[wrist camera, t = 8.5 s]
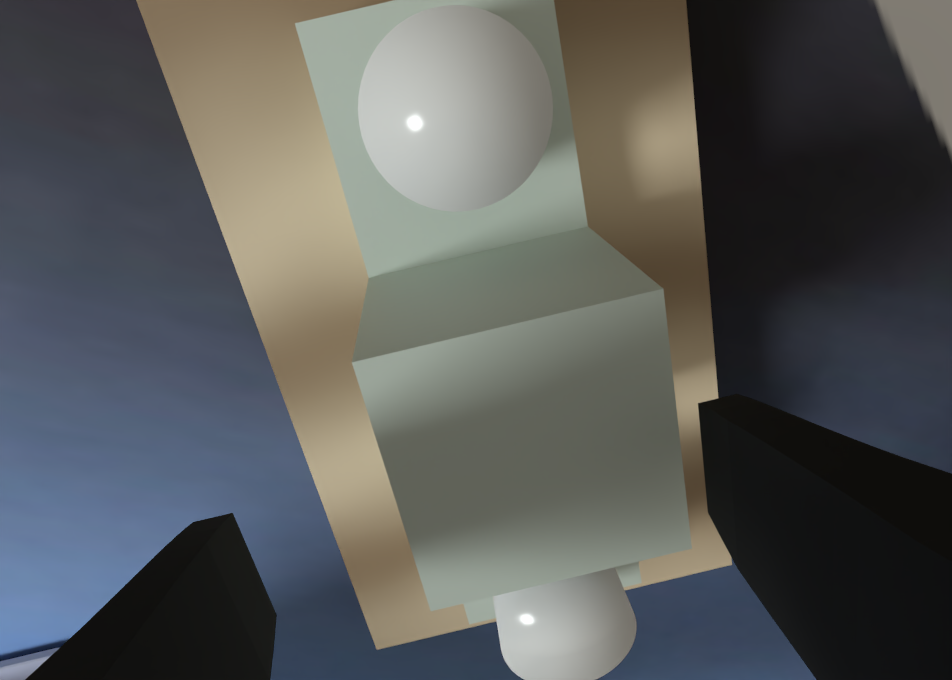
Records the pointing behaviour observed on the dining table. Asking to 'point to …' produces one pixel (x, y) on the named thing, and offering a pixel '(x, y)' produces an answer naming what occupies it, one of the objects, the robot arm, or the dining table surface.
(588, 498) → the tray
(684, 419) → the shelf board
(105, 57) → the dining table surface
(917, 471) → the robot arm
